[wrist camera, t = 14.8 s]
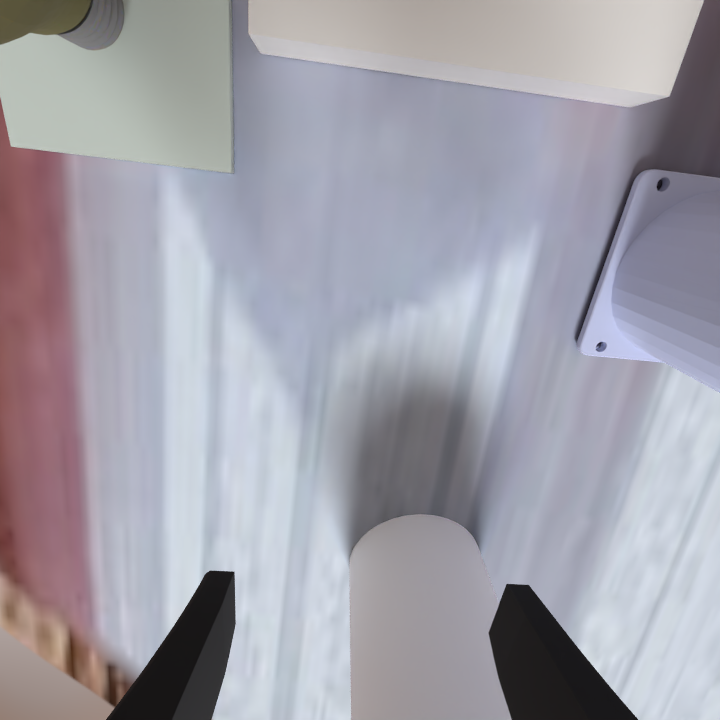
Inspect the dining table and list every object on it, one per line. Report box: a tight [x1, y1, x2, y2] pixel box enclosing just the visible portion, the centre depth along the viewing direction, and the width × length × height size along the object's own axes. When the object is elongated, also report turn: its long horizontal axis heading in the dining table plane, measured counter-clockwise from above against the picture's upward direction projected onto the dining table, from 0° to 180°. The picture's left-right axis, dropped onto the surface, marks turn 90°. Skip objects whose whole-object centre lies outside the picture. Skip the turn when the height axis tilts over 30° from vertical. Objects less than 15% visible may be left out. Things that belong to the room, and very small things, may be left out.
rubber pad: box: [0, 0, 234, 174], centre depth 13 cm, size 8×8×1 cm
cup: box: [349, 514, 512, 720], centre depth 21 cm, size 8×12×10 cm
